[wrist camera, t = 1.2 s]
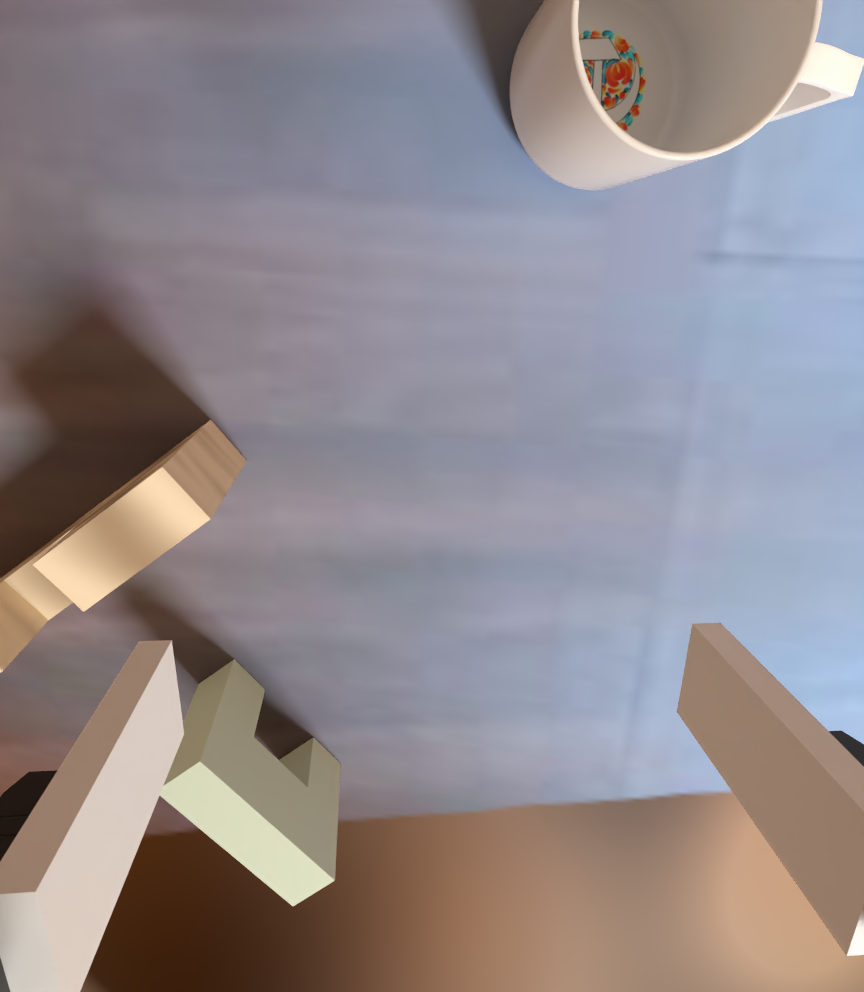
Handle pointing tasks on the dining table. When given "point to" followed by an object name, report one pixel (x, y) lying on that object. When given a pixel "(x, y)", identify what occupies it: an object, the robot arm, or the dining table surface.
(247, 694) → the sage plate
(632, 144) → the mug
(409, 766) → the dining table surface
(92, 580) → the birch board
